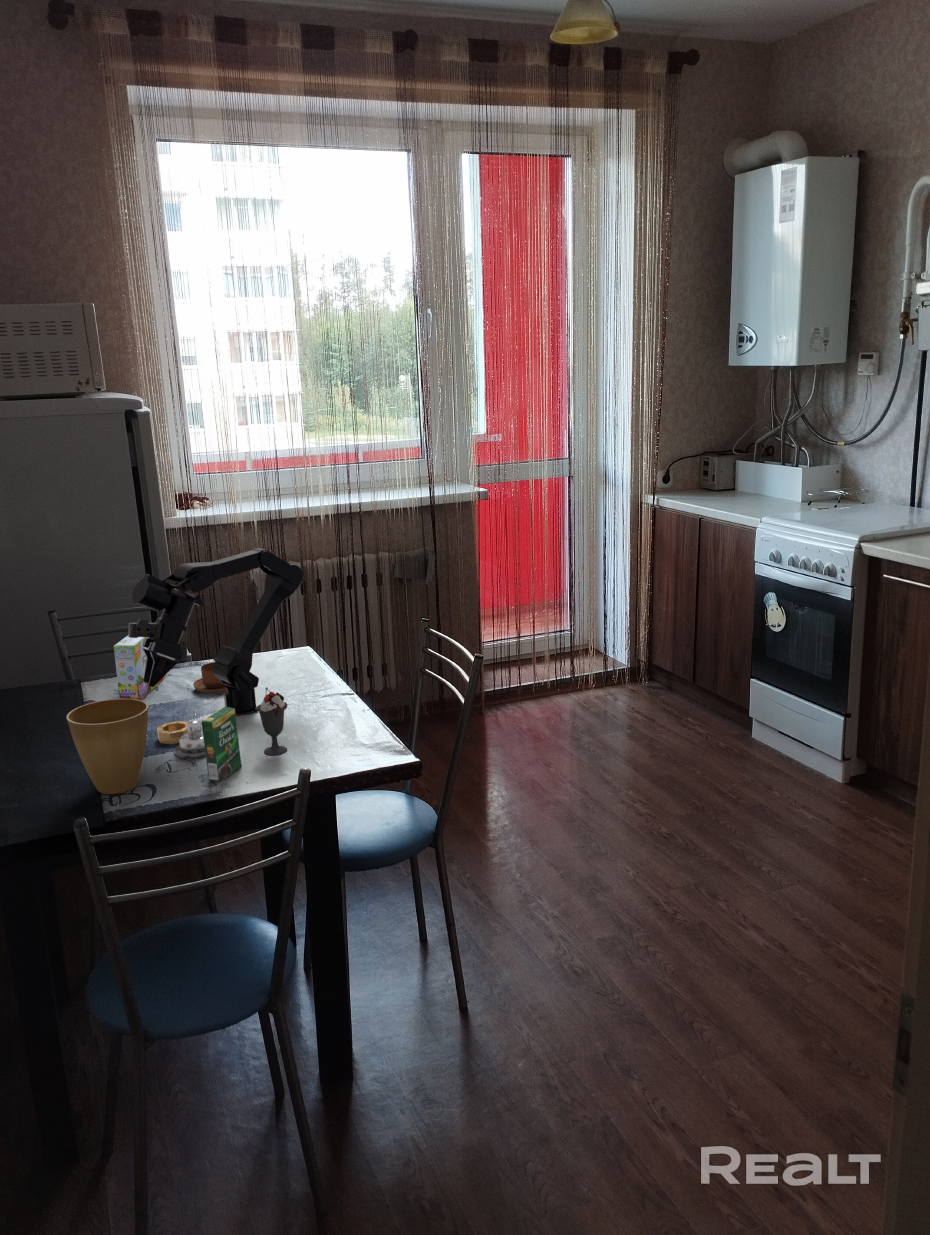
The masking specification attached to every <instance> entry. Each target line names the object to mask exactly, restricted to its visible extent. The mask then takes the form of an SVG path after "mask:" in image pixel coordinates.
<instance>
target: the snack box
mask: <svg viewBox="0 0 930 1235" xmlns="http://www.w3.org/2000/svg"><path fill="white" fill-rule="evenodd" d="M145 638H147V637H138V638H130V637H128V635H127V636H125V637H124V638H122V639H121V640H120V641H118V642H117V643H116V644H114V645H113V651H114V652H113V653H114V661H115V671H116V678H117V688H118V697H119V698H118V699H137V700H141V701H143V699H144V698H146V697H147V696H148V695H149V694H150V693H151V692H153V690H155V688H156V687H157V686H159V685H160V683H161V682H163V681H164V680H165V679H166V678H167V676H168V674H166V675H165V676H164V677H163V678H162V679H161V680H160V681H159V682H158V683H157V684H156V685H155V686H154V687H151V686H149V683H145V682H144V681H143V679H144V673H145V666H146V659H147V657H146V655H145V653H144V651H143V648H144V649H147V647H143V646H142V645H143V643H144V640H145Z"/></svg>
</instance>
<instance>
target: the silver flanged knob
mask: <svg viewBox="0 0 930 1235" xmlns="http://www.w3.org/2000/svg"><path fill="white" fill-rule="evenodd" d="M186 722H187V731H188V734H185V735H183V736H181V737H180V739H179V742H180V743H179V745H178V746H177V747H175V749H174V755H175V756H176V757H177V758H180V759H187V760H191V759H200V758H206V753H205V746H204V738H203V731H202V723H201V720H200V719H191V720H188V721H186Z"/></svg>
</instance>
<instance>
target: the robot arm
mask: <svg viewBox="0 0 930 1235" xmlns="http://www.w3.org/2000/svg"><path fill="white" fill-rule="evenodd" d="M255 569H259V570H260V571H261V572H262V573H263V574H265V575H266V577H265V578H264V579H265V580H264V591H263V593H262V594H261V597H260V598H259V600H258V602H257V603H256V606H255V607H254V609H253V611H252V613H251V614H250V616H249V617H248V619H247V620H246V622H245V624H244V626H243V627H242V629H241V631H240V632H239V634H238V636H237V637H236V640H235V641H234V642H233V643H232V644H231V645H229V646H226V645H222V646H221V647H220V648H219V651H218V654H216V656H215V657H214V658H213V659H212V660H213V662H214V664H213V672H214V675H215V676H216V677H217V678H218V679H220V681H221V683H222V684H223V685H226V686H225V688H226V691H224V692H223V698H224V707H229V708H235V715H236V716H239V715H246V714H251V713H257V712H258V711H257V710H256V709H255V708H256V707H257V701H256V692H255V691H256V689H255V688H258V687H259V681H260V678H259V677H258V676H257V675H256V674H253V672H251V669H252V666H253V656H254V655H253V654H254V651H255V650H256V648H257V646H258V645H259V642H260V641H261V639H262V637H263V636H264V634H265V633H266V631H267V628H268V627H269V625H270V624H271V622H272V620H273V618H274V617H275V615H276V614H277V612H278V610H279V608H280V606H281V605H282V603H283V602H284V601H285V600H286V599H288V598H289V597H291V596H292V595H293V594H294V593H296V591H297V589H299V587H300V586H301V585H302V583H303V581H304V575H303V570H302V569H301V567H300V566H298V565H297V564H292V563H289V562H288V561H286V560H284V559H282V558H280V557H279V556H276V555H275V554H274V553H273V552H271V551H270V550H269V549H265V548H260V547H259V548H258V547H255V548H253V549H251V550H248V551H244V552H242V553H237V554H234V555H230V556H227V557H224V558H220V559H217V560H213V561H207V562H204V561H203V562H187V563H182V564H179V565H177V566H176V568H175V570H174V572H173V573H171V574H169V575H168V576H166V577H165V578H163V579H162V580H161V579H159V578H157V577H156V576H154V575H151V574H148V573H144V576H143V578H141V579H140V580H139V581H138V583H137V584H136V585H134V587H133V590H132V593H131V594H132V595H131V599H132V602H133V603H134V604H136V605H140V606H142V607H145V608H148V609H150V610H153V611H156V612H160V611H162V610H163V611H162V613H161V615H160V617H158V618H156V620H155V622H149V621H148V620H147V619H140V618H139V619H138V620H137V621H136V622H128V630H127V631H128V634H127V636H128V637H130V638H138V637H147V638H145V640H144V643H143V645H142V646H143V647H147V649H144V648H143V651H144V653H145V655H146V657H147V659H146V666H145V673H144V679H143V681H144V682H145V683H149V686H151V687H154V686H155V685H156V684H157V683H158V682H159V681H160V680H161V679H162V678H163V677H164V676H165V675H168V673H169V672H170V671H171V670H172V669H173V668H175V666H176V665H177V664H179V661H181V660H182V658H183V655H184V650H183V648H182V646H181V644H180V642H181V639H182V637H183V634H184V632H186V631H187V629H188V627H187V624H188V621H189V619H190V616H191V614H192V612H193V609H194V607H195V605H196V606H200V607H204V606H205V603H204V601H203V600H202V597H201V594H199V593H201V592H202V591H204V590H207V589H209V588H211V587H213V585H214V584H215V583H217V582H218V581H220V580H221V579H224V578H229V577H231V576H232V577H233V576H235V575H238V574H242V573H244V572H249V571H252V570H255ZM174 590H176V591H178V592H177V593H176V592H173V591H174ZM189 592H194V593H193V594H190V593H189ZM177 660H178V661H177Z"/></svg>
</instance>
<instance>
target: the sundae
mask: <svg viewBox="0 0 930 1235" xmlns="http://www.w3.org/2000/svg"><path fill="white" fill-rule="evenodd" d="M267 691H268V692H267ZM287 708H288V703H287V702H286V701H285V697H284V696H283V694H281V693H279V692H278V691H277V692H274V691H270V690H269V687H265V696H264V697H263V700H262V701H261V703H260V704H258V705H256V708H255V709H256V710H257V712H259V717H260V722H261V725H262V728H263V731H264V732H265V734H266V735H267V736H270V737H271V745H270V746H268V747H266V748H265V749H264V750H263V753H264V754H265V755H267V756H279V755H282V754H283V755H284V754H285V753H286V752H287V751H288V748H287V747H286V746H284V745H279V742H278V736H279V735H280V734H281V733H282V732H283V730H284V721H285V710H287Z"/></svg>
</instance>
